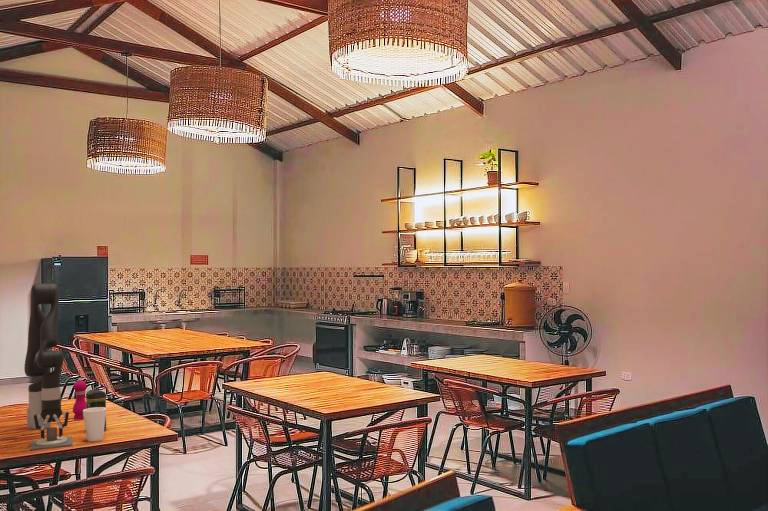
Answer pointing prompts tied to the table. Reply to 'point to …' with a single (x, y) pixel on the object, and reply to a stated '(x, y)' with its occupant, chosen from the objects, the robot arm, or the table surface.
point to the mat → (68, 443)
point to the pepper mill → (79, 399)
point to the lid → (51, 438)
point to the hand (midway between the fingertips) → (51, 437)
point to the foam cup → (94, 423)
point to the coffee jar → (96, 400)
